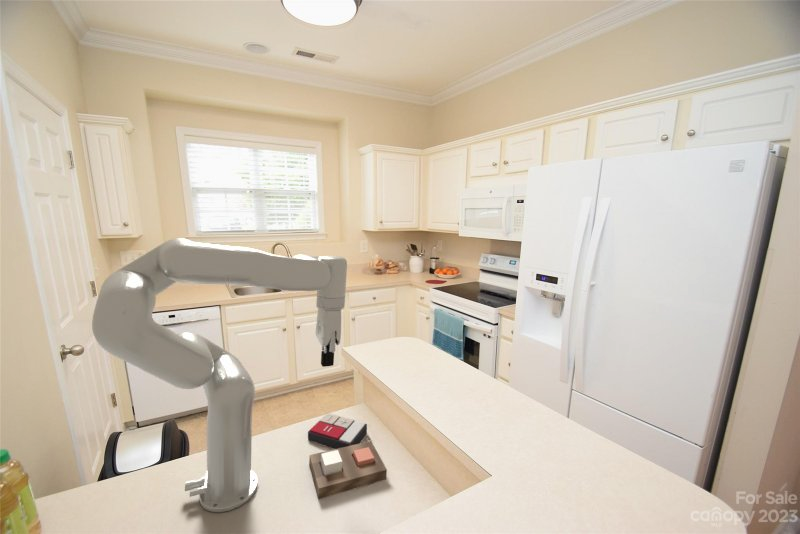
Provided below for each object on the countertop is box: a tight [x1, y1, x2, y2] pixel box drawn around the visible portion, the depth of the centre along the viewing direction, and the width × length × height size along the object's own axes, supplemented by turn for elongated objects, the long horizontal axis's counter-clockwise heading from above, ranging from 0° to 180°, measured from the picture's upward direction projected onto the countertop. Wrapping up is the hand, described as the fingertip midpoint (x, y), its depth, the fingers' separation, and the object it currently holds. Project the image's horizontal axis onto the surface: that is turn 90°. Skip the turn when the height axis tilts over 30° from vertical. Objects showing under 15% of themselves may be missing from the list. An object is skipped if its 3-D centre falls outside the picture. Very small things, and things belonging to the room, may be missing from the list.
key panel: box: [308, 440, 388, 500], centre depth 90 cm, size 18×12×3 cm, turn 115°
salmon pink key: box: [353, 447, 374, 467], centre depth 91 cm, size 4×4×4 cm
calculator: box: [307, 412, 368, 450], centre depth 104 cm, size 11×4×15 cm
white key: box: [321, 450, 342, 476], centre depth 87 cm, size 4×4×4 cm
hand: (327, 364), depth 93 cm, fingers closed
